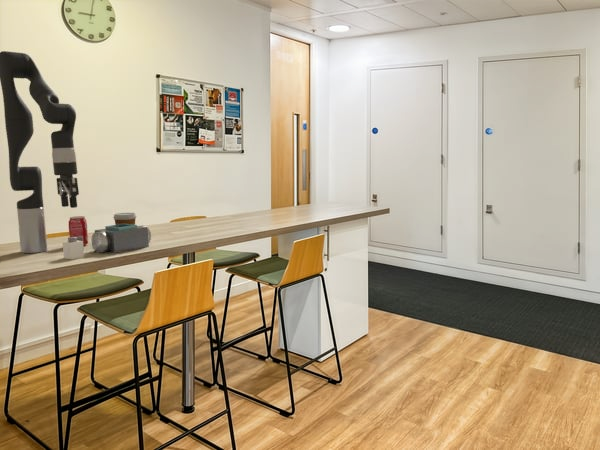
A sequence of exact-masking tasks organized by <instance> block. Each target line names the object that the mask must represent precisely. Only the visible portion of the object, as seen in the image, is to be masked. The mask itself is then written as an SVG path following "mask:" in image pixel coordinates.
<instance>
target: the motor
mask: <svg viewBox="0 0 600 450" xmlns="http://www.w3.org/2000/svg"><path fill="white" fill-rule="evenodd" d="M151 233H152V232H151V230H150V228H149V227H148V226H147V225H144V224H143V225H137V224H135V225H132V224H118V225H115V224H111V225H106V226H104V228H101V229H95V230H94V233H93V234H92V236H91V246H92V248H93V250H94V252H96V253H97V254H100V253H101V254H102V253H113V254H117V253H122V252H128V251H132V250H137V249H144V248H148V247H150V241H151V240H152V234H151Z"/></svg>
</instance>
